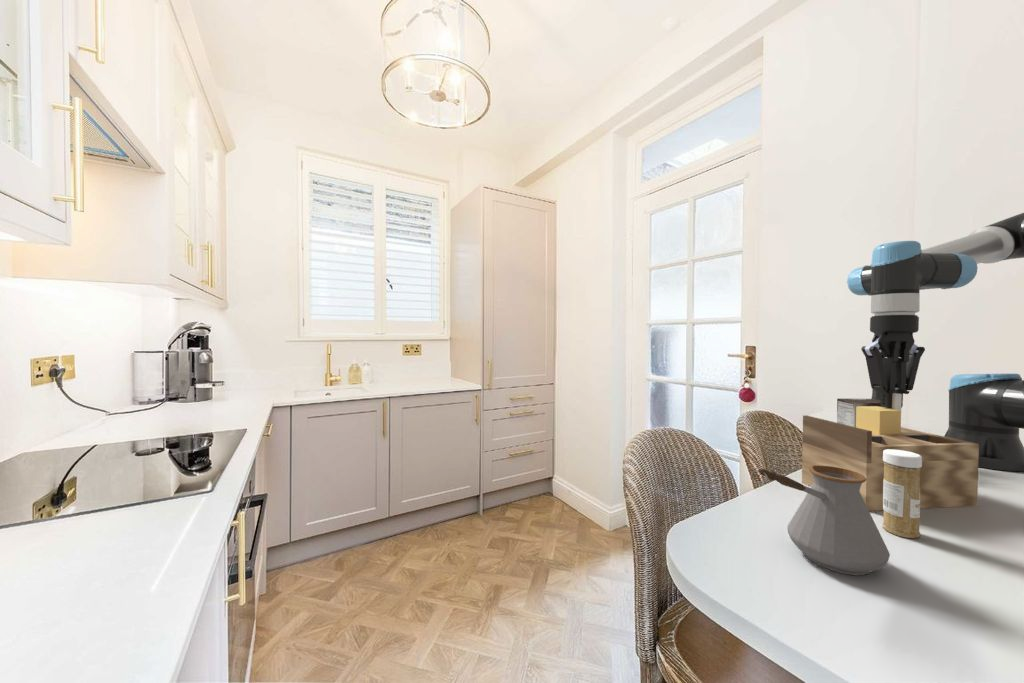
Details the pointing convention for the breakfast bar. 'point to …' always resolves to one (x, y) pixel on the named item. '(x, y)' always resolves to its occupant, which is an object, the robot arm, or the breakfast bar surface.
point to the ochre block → (878, 419)
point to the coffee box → (852, 409)
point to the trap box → (859, 450)
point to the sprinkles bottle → (901, 492)
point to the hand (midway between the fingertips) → (890, 422)
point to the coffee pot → (835, 522)
